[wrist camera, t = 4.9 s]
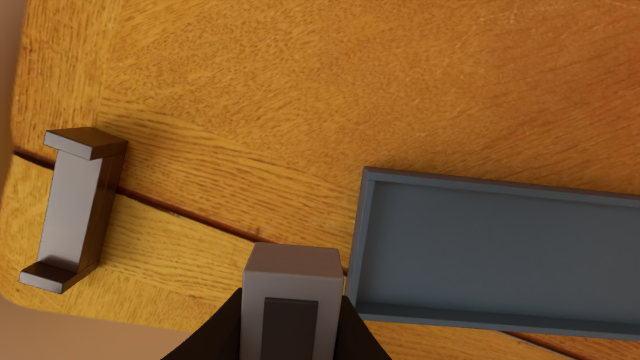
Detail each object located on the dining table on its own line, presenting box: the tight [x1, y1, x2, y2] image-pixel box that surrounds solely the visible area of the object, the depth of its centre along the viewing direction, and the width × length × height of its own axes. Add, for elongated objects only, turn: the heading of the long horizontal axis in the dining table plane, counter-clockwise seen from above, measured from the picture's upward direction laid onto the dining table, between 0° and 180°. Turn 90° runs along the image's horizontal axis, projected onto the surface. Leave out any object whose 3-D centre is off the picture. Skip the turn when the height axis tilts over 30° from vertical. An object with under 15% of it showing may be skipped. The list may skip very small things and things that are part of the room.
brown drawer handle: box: [19, 127, 128, 294], centre depth 17 cm, size 9×2×3 cm, turn 159°
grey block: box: [239, 242, 344, 360], centre depth 10 cm, size 6×3×2 cm, turn 174°
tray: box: [344, 166, 640, 341], centre depth 20 cm, size 10×26×2 cm, turn 84°
